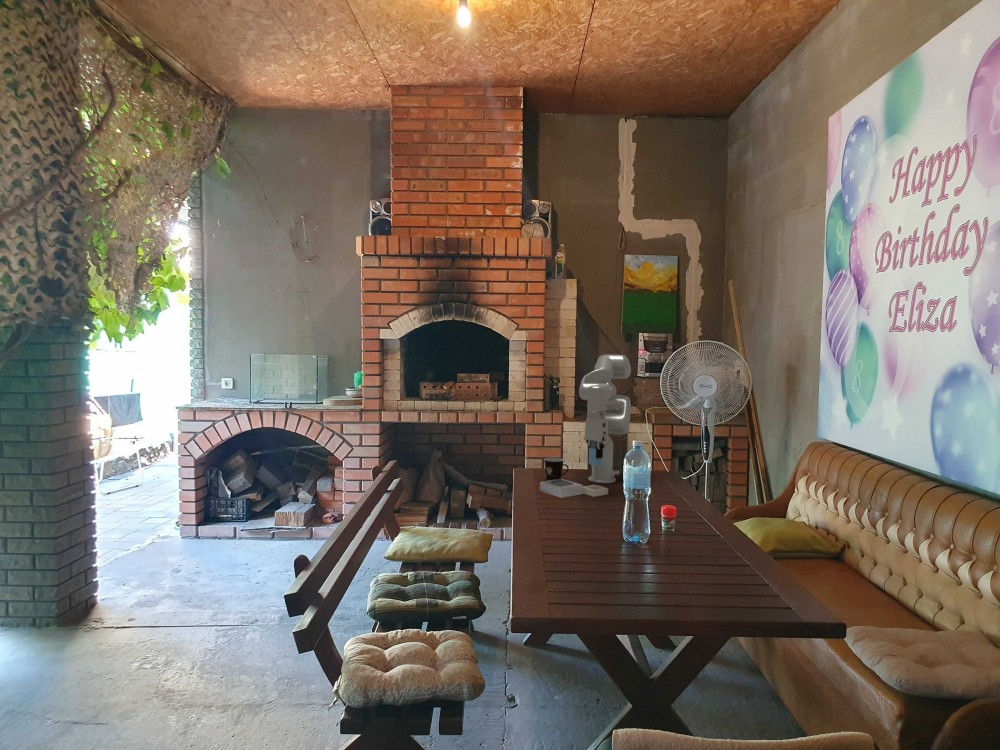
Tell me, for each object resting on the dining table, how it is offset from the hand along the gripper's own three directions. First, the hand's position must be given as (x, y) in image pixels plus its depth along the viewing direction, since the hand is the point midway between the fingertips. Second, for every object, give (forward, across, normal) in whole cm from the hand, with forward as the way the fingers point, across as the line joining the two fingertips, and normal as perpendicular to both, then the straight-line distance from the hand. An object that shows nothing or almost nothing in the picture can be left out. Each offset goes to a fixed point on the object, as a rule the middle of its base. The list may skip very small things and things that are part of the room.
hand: (595, 456), depth 272 cm
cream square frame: (+16, -1, +1) cm, 16 cm away
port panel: (+16, +8, +12) cm, 21 cm away
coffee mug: (+16, +25, +1) cm, 30 cm away
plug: (+3, 0, 0) cm, 3 cm away
